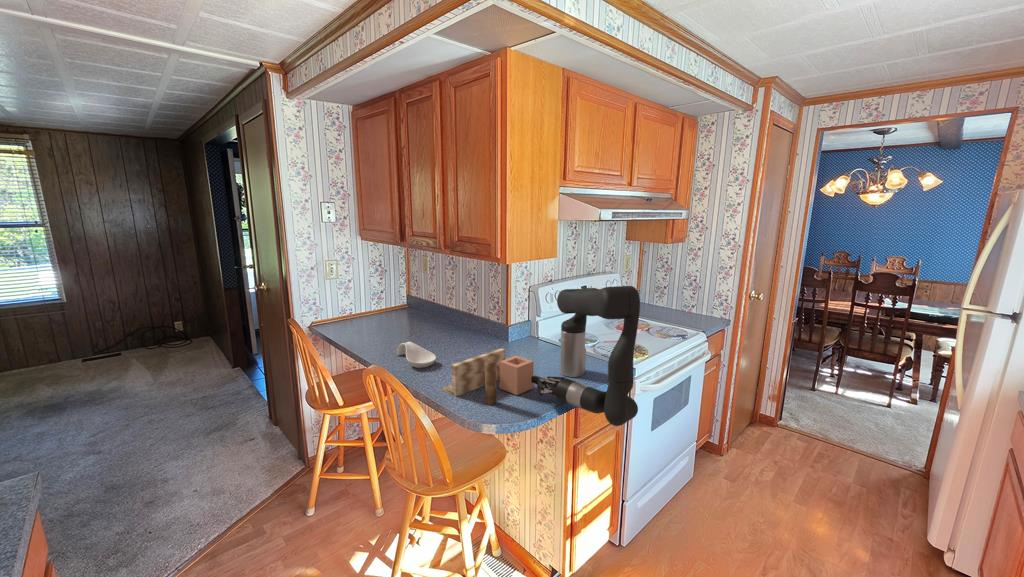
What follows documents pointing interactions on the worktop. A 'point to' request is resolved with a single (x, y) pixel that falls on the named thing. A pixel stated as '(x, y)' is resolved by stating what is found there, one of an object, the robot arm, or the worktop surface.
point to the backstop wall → (472, 372)
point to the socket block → (516, 374)
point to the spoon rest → (416, 355)
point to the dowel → (490, 382)
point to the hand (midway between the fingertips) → (532, 378)
